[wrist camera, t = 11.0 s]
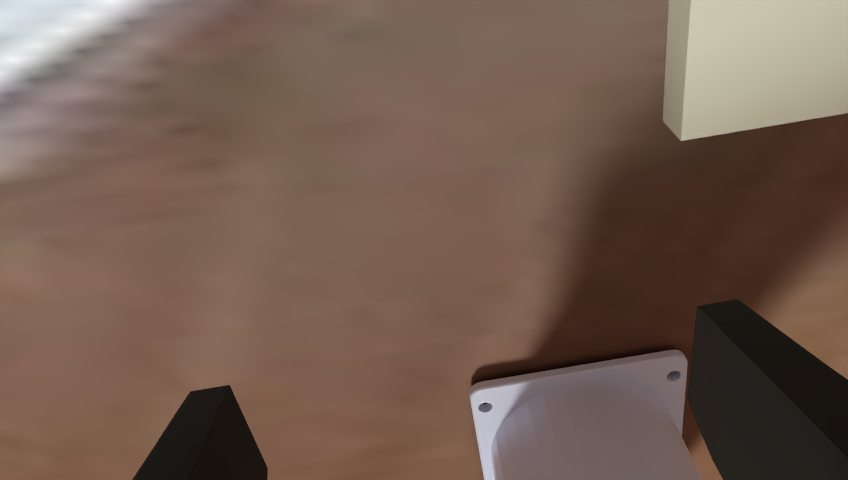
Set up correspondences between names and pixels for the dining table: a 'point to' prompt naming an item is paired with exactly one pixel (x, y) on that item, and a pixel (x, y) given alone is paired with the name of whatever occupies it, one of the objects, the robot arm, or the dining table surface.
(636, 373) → the robot arm
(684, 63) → the cream square slab
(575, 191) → the dining table surface
